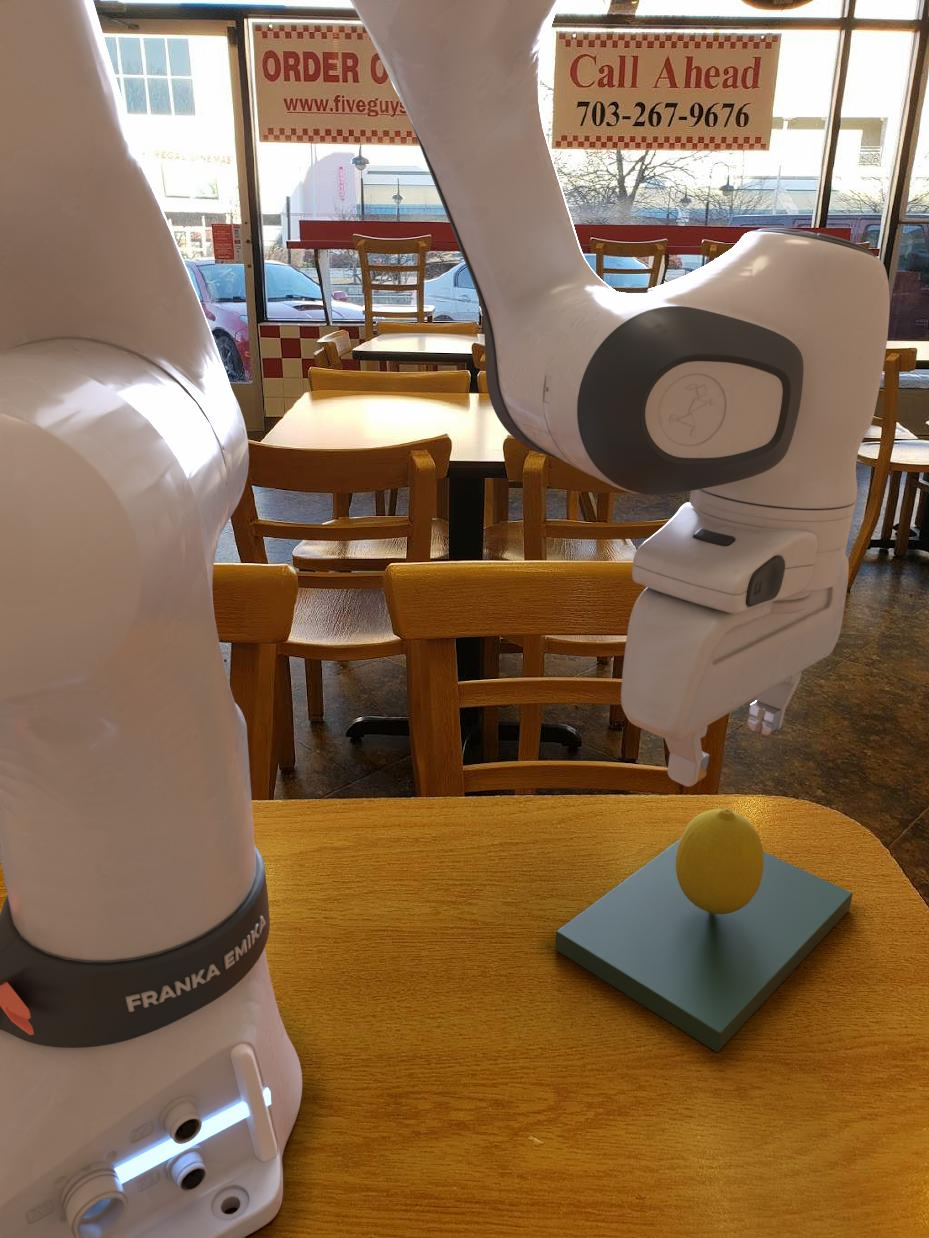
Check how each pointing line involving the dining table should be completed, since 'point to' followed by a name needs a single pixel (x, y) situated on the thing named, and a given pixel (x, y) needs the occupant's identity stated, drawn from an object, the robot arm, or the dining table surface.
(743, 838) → the lemon
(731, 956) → the cutting board
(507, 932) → the dining table surface
